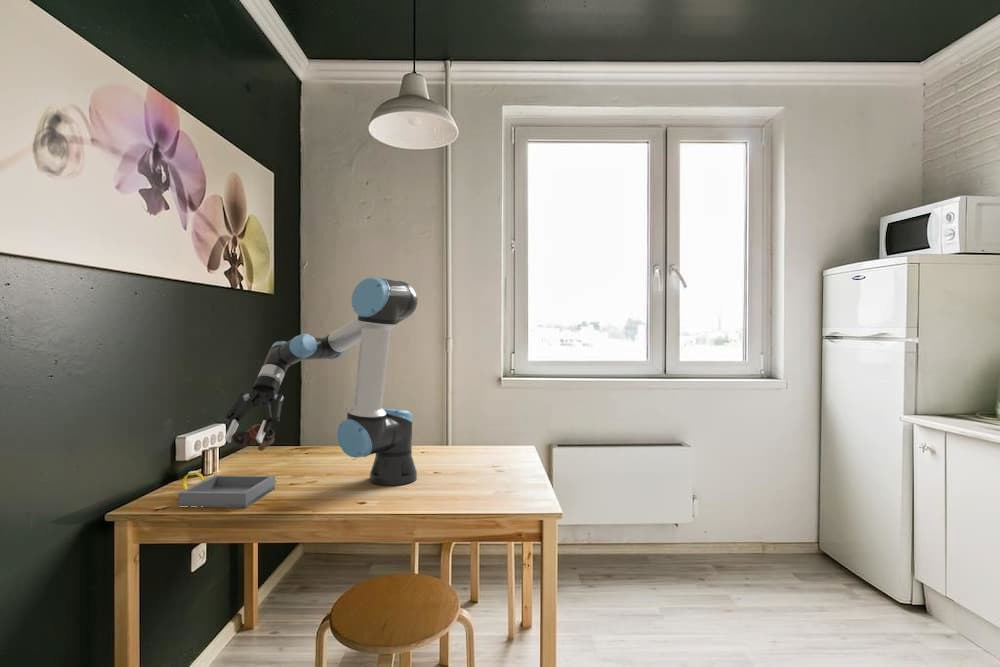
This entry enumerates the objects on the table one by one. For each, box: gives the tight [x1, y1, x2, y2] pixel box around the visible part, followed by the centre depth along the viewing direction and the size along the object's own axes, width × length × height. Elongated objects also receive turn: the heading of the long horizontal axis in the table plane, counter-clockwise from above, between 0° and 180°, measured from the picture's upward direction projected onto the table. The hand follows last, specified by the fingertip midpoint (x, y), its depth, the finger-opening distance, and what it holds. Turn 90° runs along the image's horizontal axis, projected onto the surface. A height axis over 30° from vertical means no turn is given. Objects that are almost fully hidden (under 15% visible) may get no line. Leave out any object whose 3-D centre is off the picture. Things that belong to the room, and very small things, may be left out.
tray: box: [177, 474, 276, 509], centre depth 156 cm, size 18×18×4 cm
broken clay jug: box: [232, 424, 276, 452], centre depth 167 cm, size 12×10×8 cm
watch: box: [182, 470, 206, 490], centre depth 162 cm, size 6×3×6 cm, turn 93°
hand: (243, 440), depth 162 cm, fingers closed on broken clay jug, 9 cm apart
